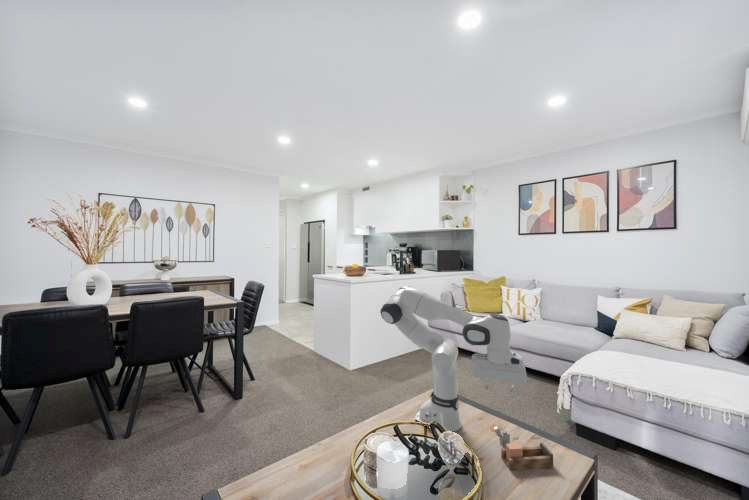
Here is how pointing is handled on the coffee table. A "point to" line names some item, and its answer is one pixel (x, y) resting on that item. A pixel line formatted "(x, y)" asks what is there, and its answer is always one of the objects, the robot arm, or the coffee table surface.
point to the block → (513, 450)
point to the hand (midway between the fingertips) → (498, 390)
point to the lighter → (502, 436)
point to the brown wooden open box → (530, 459)
